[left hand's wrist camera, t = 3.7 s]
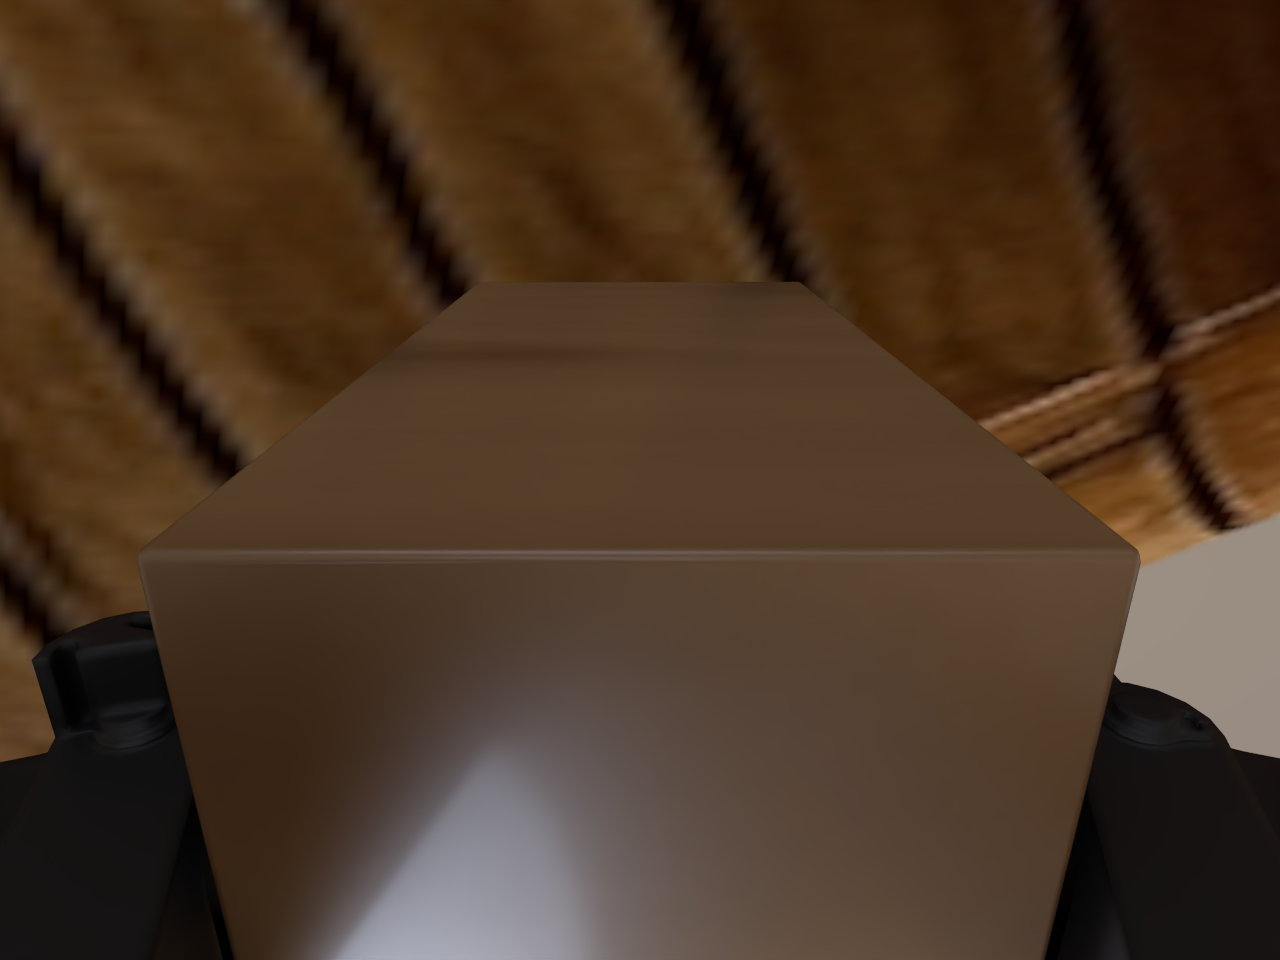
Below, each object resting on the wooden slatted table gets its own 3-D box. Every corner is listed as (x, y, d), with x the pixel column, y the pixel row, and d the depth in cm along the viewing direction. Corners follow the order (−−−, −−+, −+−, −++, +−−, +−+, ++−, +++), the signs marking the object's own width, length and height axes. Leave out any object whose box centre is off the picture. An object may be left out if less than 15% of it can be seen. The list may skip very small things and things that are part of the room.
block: (778, 619, 18) (974, 1271, 7) (500, 619, 18) (305, 1272, 7) (801, 281, 15) (1149, 550, 5) (477, 281, 15) (126, 552, 5)
